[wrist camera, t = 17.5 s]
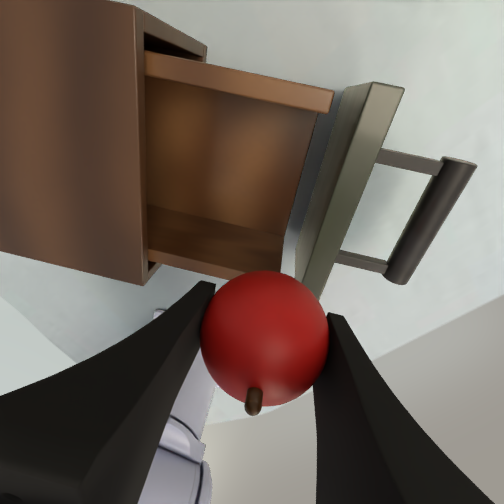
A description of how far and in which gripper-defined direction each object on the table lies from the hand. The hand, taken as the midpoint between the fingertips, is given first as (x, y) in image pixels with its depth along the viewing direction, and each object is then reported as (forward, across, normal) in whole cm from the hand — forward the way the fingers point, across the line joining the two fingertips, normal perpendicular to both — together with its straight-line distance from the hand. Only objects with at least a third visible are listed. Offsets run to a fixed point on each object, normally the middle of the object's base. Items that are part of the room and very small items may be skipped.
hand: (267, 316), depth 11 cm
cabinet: (+10, +14, -3) cm, 18 cm away
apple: (-1, 0, 0) cm, 1 cm away
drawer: (+10, +2, -3) cm, 10 cm away
